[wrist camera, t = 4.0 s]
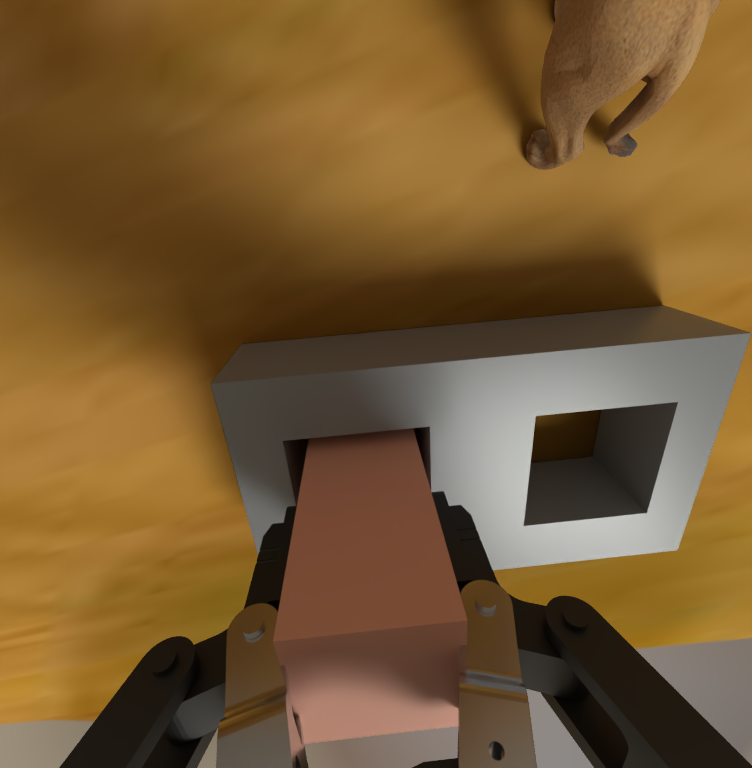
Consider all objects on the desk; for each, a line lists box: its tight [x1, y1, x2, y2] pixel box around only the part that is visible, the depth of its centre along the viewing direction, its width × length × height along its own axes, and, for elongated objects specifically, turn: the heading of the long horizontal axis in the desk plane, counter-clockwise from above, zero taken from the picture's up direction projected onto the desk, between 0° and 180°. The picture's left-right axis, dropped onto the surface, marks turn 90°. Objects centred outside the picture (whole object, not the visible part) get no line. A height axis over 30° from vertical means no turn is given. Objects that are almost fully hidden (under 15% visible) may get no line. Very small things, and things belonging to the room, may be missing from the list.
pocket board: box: [211, 305, 751, 570], centre depth 17 cm, size 18×10×4 cm, turn 94°
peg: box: [273, 428, 468, 744], centre depth 13 cm, size 4×4×10 cm
